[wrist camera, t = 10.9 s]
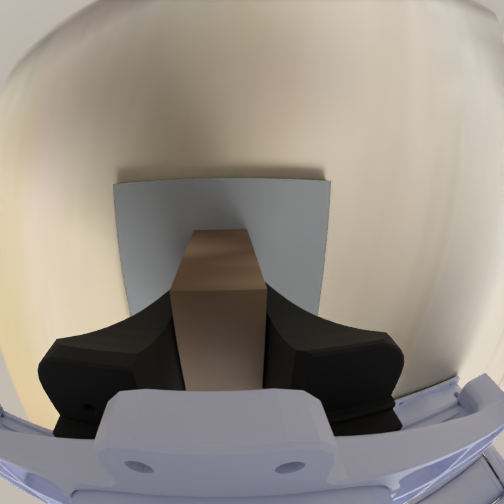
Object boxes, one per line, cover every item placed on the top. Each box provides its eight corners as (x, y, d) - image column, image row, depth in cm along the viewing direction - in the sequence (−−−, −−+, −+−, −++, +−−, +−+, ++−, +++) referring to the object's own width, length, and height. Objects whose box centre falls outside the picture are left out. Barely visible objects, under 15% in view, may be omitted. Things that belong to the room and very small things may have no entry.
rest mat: (326, 180, 13) (330, 181, 12) (308, 350, 16) (310, 356, 15) (117, 183, 12) (113, 184, 11) (144, 354, 15) (142, 360, 14)
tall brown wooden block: (247, 229, 12) (267, 289, 7) (246, 338, 14) (259, 428, 9) (194, 230, 12) (169, 290, 6) (202, 339, 14) (195, 429, 8)
